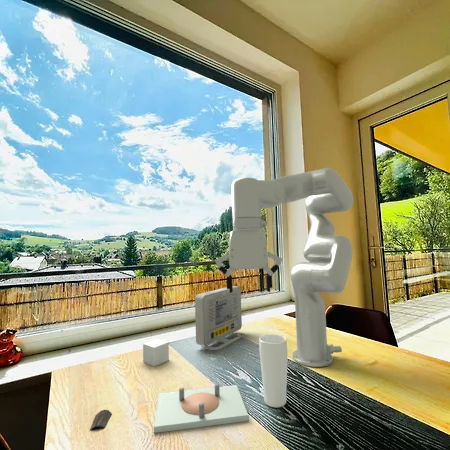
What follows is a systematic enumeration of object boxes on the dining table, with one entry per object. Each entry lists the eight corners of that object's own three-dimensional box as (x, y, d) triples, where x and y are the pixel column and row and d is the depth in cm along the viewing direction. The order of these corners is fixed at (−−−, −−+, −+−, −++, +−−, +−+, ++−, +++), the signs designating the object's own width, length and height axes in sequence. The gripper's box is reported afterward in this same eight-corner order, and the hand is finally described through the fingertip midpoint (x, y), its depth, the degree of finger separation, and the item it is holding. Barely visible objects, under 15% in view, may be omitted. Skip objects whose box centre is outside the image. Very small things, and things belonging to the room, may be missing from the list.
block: (89, 437, 58) (88, 429, 58) (96, 417, 64) (95, 410, 64) (107, 432, 59) (106, 423, 59) (113, 413, 65) (111, 405, 64)
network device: (230, 330, 122) (229, 285, 124) (247, 333, 117) (245, 286, 119) (191, 349, 102) (190, 294, 103) (209, 354, 96) (208, 296, 98)
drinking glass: (258, 395, 69) (256, 334, 70) (284, 393, 70) (282, 333, 71) (264, 411, 63) (262, 344, 64) (293, 409, 63) (290, 342, 64)
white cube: (143, 362, 92) (142, 343, 92) (157, 356, 96) (157, 338, 97) (154, 366, 88) (154, 347, 88) (168, 360, 93) (168, 341, 93)
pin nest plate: (236, 389, 73) (236, 375, 73) (248, 420, 60) (247, 403, 60) (159, 398, 69) (159, 383, 70) (153, 432, 57) (153, 414, 57)
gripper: (278, 225, 76) (281, 288, 75) (215, 227, 76) (217, 289, 75) (282, 223, 68) (285, 293, 67) (213, 225, 69) (215, 294, 68)
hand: (249, 291), depth 71 cm, fingers open, 9 cm apart
